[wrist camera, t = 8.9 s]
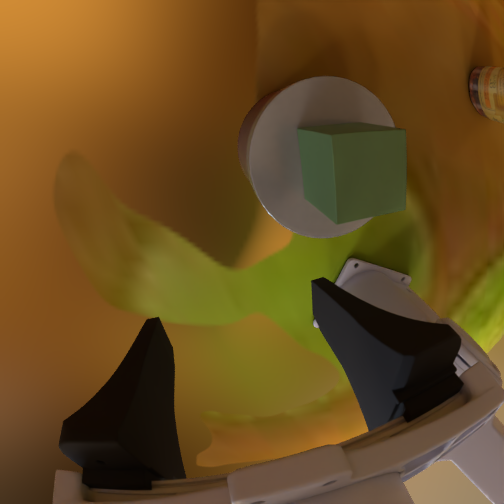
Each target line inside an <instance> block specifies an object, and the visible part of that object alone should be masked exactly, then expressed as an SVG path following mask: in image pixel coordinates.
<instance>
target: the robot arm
mask: <svg viewBox="0 0 504 504" xmlns="http://www.w3.org/2000/svg"><path fill="white" fill-rule="evenodd" d="M356 263H357V264H356ZM355 264H356V265H355ZM354 265H355V266H354ZM410 282H411V277H410V276H409V275H406V274H403V273H400V272H397V271H393V270H390V269H387V268H384V267H381V266H378V265H375V264H371V263H368V262H365V261H362V260H359V259H355V258H349V259H348V260H347V262H346V264H345V266H344V267H343V269H342V271H341V273H340V275H339V277H338V279H337V281H336V282H335V284H334V283H332V282H331V281H329V280H327V279H326V278H324V277H322V278H319V279H315V280H311V283H312V305H313V315H314V317H315V320H314V322H313V325H314V326H315V327H316V328H319V329H320V331H321V332H322V334H323V336H324V337H325V339H326V341H327V342H328V344H329V346H330V347H331V349H332V350H333V352H334V354H335V355H336V357H337V358H338V360H339V362H340V363H341V365H342V367H343V369H344V370H345V373H346V375H347V377H348V379H349V381H350V383H351V386H352V388H353V390H354V393H355V395H356V397H357V400H358V402H359V405H360V408H361V410H362V413H363V415H364V418H365V421H366V424H367V427H368V430H369V432H366V433H364V434H361V435H359V436H357V437H354V438H352V439H349V440H347V441H344V442H341V443H339V444H336V445H325V446H321V447H317V448H313V449H310V450H307V451H304V452H301V453H297V454H294V455H290V456H287V457H283V458H279V459H275V460H271V461H268V462H263V463H259V464H254V465H250V466H246V467H243V468H239V469H237V470H235V471H233V472H231V473H227V474H220V475H214V476H206V477H198V478H189V479H187V478H186V474H185V471H184V466H183V462H182V457H181V453H180V447H179V442H178V436H177V429H176V422H175V414H174V380H175V379H174V378H175V364H174V354H173V347H172V345H171V343H170V341H169V338H168V337H167V334H166V332H165V330H164V327H163V325H162V323H161V321H160V318H159V317H156V318H151V319H147V320H146V322H145V323H144V325H143V327H142V329H141V331H140V332H139V334H138V336H137V338H136V339H135V341H134V343H133V344H132V346H131V348H130V350H129V351H128V353H127V355H126V356H125V358H124V360H123V361H122V362H121V364H120V366H119V367H118V369H117V370H116V371H115V372H114V374H113V375H112V376H111V378H110V379H109V380H108V382H107V383H106V384H105V385H104V386H103V387H102V388H101V389H100V390H99V392H97V393H96V395H95V396H94V397H93V398H91V399H90V400H89V401H88V402H87V403H86V404H85V405H84V406H83V407H81V408H80V409H79V410H78V411H77V412H75V413H74V414H72V415H71V416H70V417H68V418H67V419H66V420H64V421H63V426H62V430H61V436H60V441H59V448H60V450H61V451H62V452H63V454H65V455H66V456H67V457H68V458H70V459H71V460H72V461H74V462H75V463H77V464H78V465H79V466H81V467H82V468H83V474H81V473H78V472H74V471H66V470H56V476H55V484H54V495H53V496H54V497H53V504H414V502H413V500H412V498H411V496H410V494H409V493H408V491H407V489H406V487H405V485H404V483H403V482H405V481H407V480H408V479H410V478H412V477H413V476H415V475H417V474H418V473H420V472H421V471H423V470H425V469H426V468H428V467H429V466H431V465H432V464H434V463H435V462H437V461H445V460H451V461H452V462H453V463H454V464H455V465H456V466H457V467H458V468H459V469H460V470H461V471H462V472H463V473H464V474H465V475H466V476H467V477H468V478H469V479H470V480H471V481H472V483H473V484H474V485H476V486H477V488H478V489H479V490H480V491H481V492H482V493H483V494H484V495H485V496H486V497H487V498H488V499H489V500H490V501H491V502H492V503H493V504H504V425H503V424H502V423H501V422H500V421H499V420H498V418H497V417H496V416H495V413H496V412H497V410H498V409H499V408H500V407H501V405H502V404H503V403H504V390H503V388H502V379H501V377H500V371H499V370H498V368H497V367H496V365H495V364H494V363H493V362H492V361H491V360H490V359H489V357H488V355H487V354H486V353H485V352H484V351H483V349H482V348H481V347H480V346H479V345H478V344H477V343H476V342H475V341H474V340H473V339H472V338H471V337H470V336H469V335H468V334H467V333H466V332H465V331H464V330H463V329H462V328H461V327H460V326H458V325H457V324H456V323H455V322H454V321H452V320H451V319H449V318H442V319H441V318H439V316H438V315H437V314H436V313H435V312H434V311H433V310H432V309H431V308H430V307H429V306H428V305H427V304H426V303H425V302H424V301H423V300H422V299H421V298H420V297H419V296H418V295H417V294H416V293H415V292H414V291H413V290H412V289H411V288H409V287H408V285H409V284H410Z"/></svg>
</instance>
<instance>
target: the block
mask: <svg viewBox="0 0 504 504" xmlns="http://www.w3.org/2000/svg"><path fill="white" fill-rule="evenodd" d="M297 133H298V141H299V149H300V158H301V166H302V176H303V185H304V196H305V199H306V200H307V201H308V202H309V203H311V204H312V205H313V206H314V207H316V208H317V209H318V210H319V211H320V212H322V213H323V214H324V215H325V216H326V217H328V218H329V219H330V220H331V221H332V222H334V223H335V224H336V225H339V224H343V223H348V222H352V221H357V220H361V219H366V218H370V217H375V216H379V215H384V214H388V213H393V212H397V211H402V210H405V208H406V180H407V154H406V130H405V129H400V128H395V127H389V126H383V125H377V124H370V123H363V122H358V123H343V124H331V125H320V126H310V127H302V128H297Z"/></svg>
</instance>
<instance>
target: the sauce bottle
mask: <svg viewBox="0 0 504 504" xmlns="http://www.w3.org/2000/svg"><path fill="white" fill-rule="evenodd" d="M469 85H470V87H469V88H470V98H471V101H472V103H473V105H474V106H475V108H476V110H477V111H478V112H479V114H481V115H482V116H485V117H488V118H489V119H491V120H494V121H498V122H501V123H504V68H501V67H494V66H486V67H476V68H475V69H474V70H473V71H472V73H471V74H470V78H469Z"/></svg>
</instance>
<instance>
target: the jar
mask: <svg viewBox="0 0 504 504" xmlns="http://www.w3.org/2000/svg"><path fill="white" fill-rule="evenodd" d="M358 122H363V123H370V124H377V125H383V126H389V127H395V125H394V122H393V120H392V118H391V116H390V114H389V112H388V111H387V109H386V108H385V106H384V105H383V104H382V103H381V101H380V100H379V99H378V98H377V97H376V96H375V95H374V94H373V93H372V92H370V91H369V90H368V89H366V88H365V87H363V86H361V85H360V84H358V83H356V82H354V81H351V80H348V79H345V78H341V77H336V76H318V77H311V78H307V79H303V80H300V81H297V82H294V83H292V84H290V85H288V86H286V87H284V88H283V89H281V90H278V91H275V92H273V93H271V94H268V95H267V96H265V97H264V98H262V99H261V100H260V101H258V102H257V103H256V104H255V105H254V106H253V107H252V108H251V110H250V111H249V112H248V114H247V115H246V117H245V119H244V121H243V124H242V126H241V129H240V132H239V138H238V155H239V160H240V164H241V167H242V170H243V172H244V174H245V175H246V177H247V179H248V180H249V182H250V183H251V185H252V188H253V190H254V192H255V194H256V196H257V198H258V200H259V201H260V203H261V204H262V205H263V207H264V208H265V209H266V211H267V212H268V213H269V214H270V215H271V216H272V217H273V218H274V219H275V220H276V221H277V222H278V223H279V224H281V225H282V226H283V227H285V228H287V229H289V230H290V231H292V232H295V233H297V234H300V235H303V236H307V237H314V238H331V237H336V236H340V235H344V234H347V233H349V232H352V231H354V230H356V229H358V228H359V227H361V226H362V225H364V224H365V223H367V222H368V221H369V220H370V219H372V218H373V217H370V218H366V219H361V220H357V221H352V222H348V223H343V224H339V225H336V224H335V223H334V222H332V221H331V220H330V219H329V218H328V217H326V216H325V215H324V214H323V213H322V212H320V211H319V210H318V209H317V208H316V207H314V206H313V205H312V204H311V203H309V202H308V201H307V200H306V199H305V196H304V185H303V176H302V166H301V158H300V149H299V141H298V133H297V128H302V127H310V126H320V125H331V124H343V123H358Z"/></svg>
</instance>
